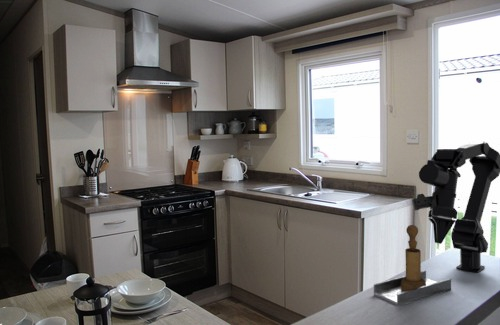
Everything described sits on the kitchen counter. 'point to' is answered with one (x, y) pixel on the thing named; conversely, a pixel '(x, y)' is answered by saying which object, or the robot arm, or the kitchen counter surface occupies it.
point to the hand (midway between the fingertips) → (437, 243)
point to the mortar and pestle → (412, 263)
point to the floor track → (399, 297)
